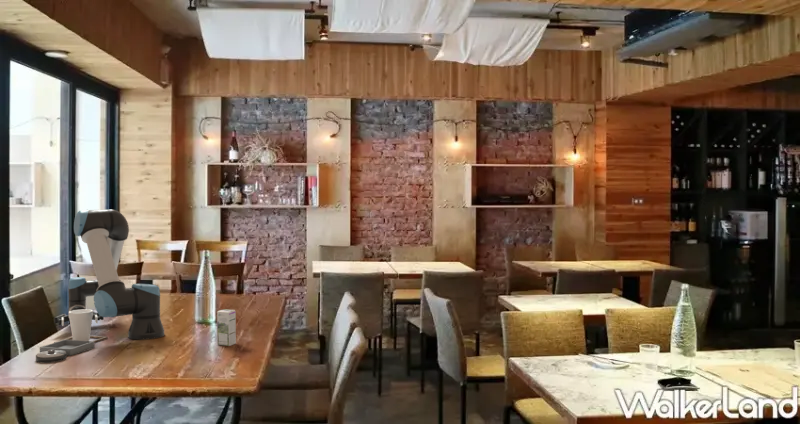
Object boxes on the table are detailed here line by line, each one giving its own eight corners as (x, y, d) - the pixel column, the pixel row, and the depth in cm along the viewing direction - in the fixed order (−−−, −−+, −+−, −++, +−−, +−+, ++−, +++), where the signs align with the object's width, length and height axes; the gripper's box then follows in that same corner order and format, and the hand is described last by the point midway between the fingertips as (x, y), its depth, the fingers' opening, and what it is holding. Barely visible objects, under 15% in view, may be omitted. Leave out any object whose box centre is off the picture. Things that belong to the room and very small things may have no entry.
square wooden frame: (107, 338, 307) (107, 336, 307) (84, 346, 292) (84, 344, 292) (77, 336, 310) (77, 335, 310) (53, 344, 296) (53, 342, 296)
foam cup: (83, 344, 296) (83, 313, 295) (64, 343, 297) (63, 312, 297) (97, 339, 305) (97, 309, 304) (78, 338, 307) (78, 308, 306)
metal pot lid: (72, 357, 274) (72, 347, 273) (53, 363, 263) (53, 354, 263) (49, 355, 276) (49, 346, 276) (29, 361, 266) (29, 352, 266)
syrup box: (236, 343, 298) (236, 309, 298) (228, 346, 293) (228, 311, 292) (224, 342, 300) (224, 308, 300) (216, 345, 295) (216, 311, 294)
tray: (94, 347, 289) (94, 341, 289) (70, 355, 276) (70, 349, 276) (64, 345, 293) (64, 339, 293) (39, 353, 279) (39, 347, 279)
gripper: (107, 319, 334) (110, 327, 315) (48, 323, 323) (48, 332, 304) (106, 303, 333) (110, 310, 315) (48, 307, 322) (48, 315, 303)
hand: (79, 321), depth 309 cm, fingers open, 13 cm apart
